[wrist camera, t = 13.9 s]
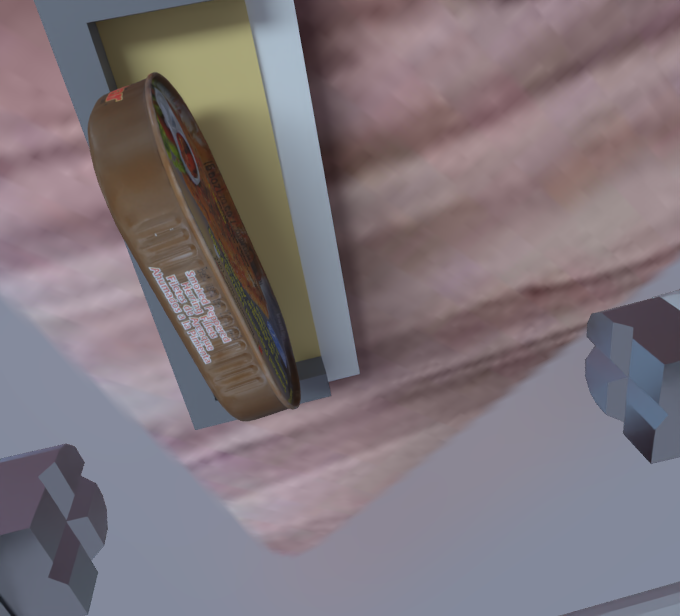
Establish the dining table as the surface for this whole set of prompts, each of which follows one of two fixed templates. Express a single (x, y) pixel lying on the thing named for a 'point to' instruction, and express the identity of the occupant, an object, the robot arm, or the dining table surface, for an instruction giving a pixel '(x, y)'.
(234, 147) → the dock
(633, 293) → the dining table surface
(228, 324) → the tin
